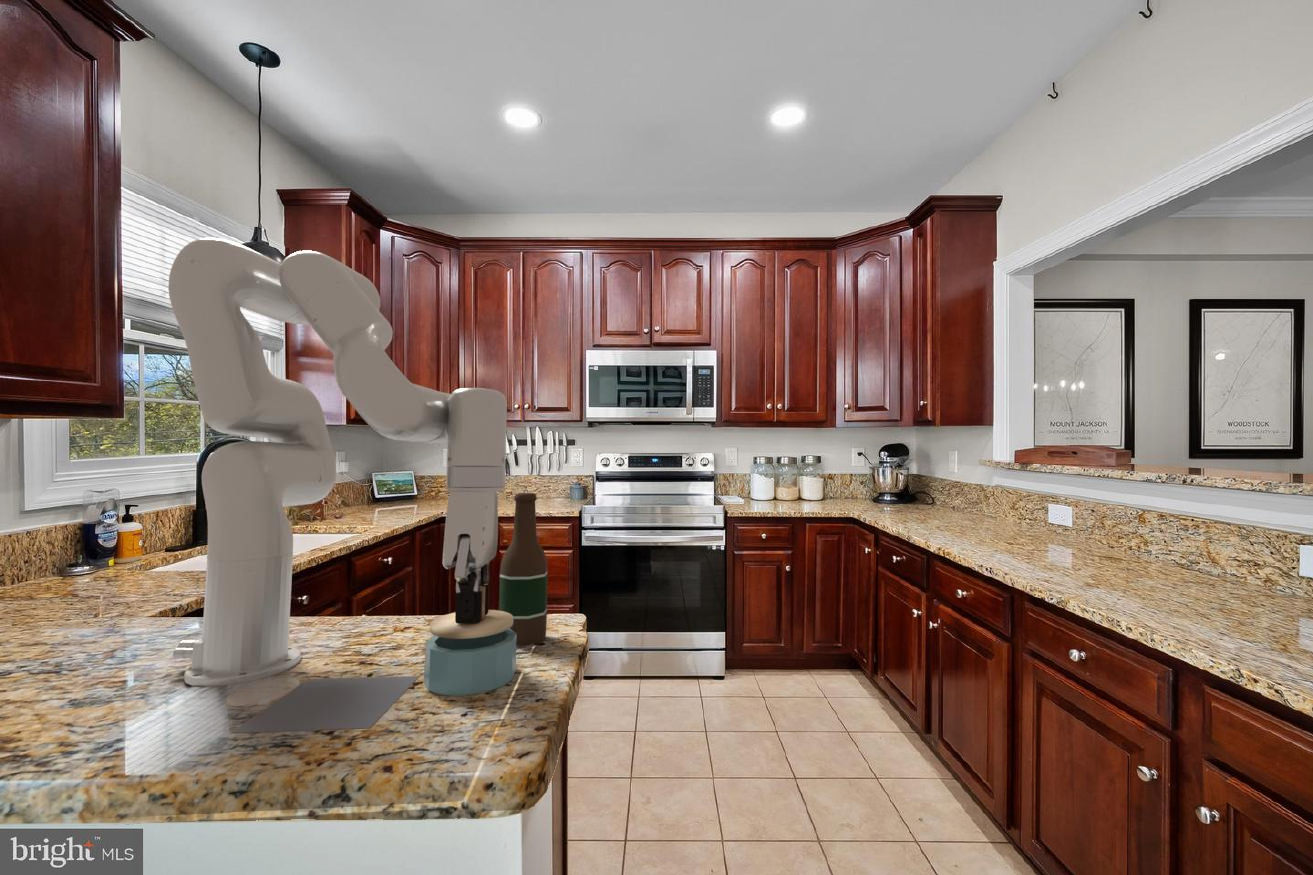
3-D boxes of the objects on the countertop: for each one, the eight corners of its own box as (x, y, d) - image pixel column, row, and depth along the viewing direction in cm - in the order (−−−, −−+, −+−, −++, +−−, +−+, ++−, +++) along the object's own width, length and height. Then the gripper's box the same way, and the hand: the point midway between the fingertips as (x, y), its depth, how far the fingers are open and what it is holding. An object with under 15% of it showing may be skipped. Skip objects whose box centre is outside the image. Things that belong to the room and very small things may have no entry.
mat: (229, 736, 54) (229, 732, 54) (308, 682, 68) (308, 679, 68) (370, 731, 55) (370, 727, 55) (419, 679, 69) (419, 675, 69)
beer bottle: (555, 636, 87) (558, 492, 89) (530, 651, 80) (533, 494, 81) (516, 631, 90) (519, 491, 91) (487, 645, 82) (491, 493, 84)
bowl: (411, 700, 63) (413, 653, 63) (441, 666, 74) (442, 626, 74) (505, 697, 64) (506, 651, 64) (520, 663, 75) (521, 624, 75)
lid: (417, 639, 63) (419, 598, 64) (444, 616, 74) (445, 580, 74) (505, 637, 64) (506, 596, 65) (518, 614, 75) (519, 579, 75)
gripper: (464, 479, 78) (461, 603, 77) (426, 481, 62) (420, 639, 61) (515, 479, 79) (512, 602, 78) (490, 481, 62) (486, 637, 61)
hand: (472, 617), depth 69 cm, fingers closed on lid, 3 cm apart
